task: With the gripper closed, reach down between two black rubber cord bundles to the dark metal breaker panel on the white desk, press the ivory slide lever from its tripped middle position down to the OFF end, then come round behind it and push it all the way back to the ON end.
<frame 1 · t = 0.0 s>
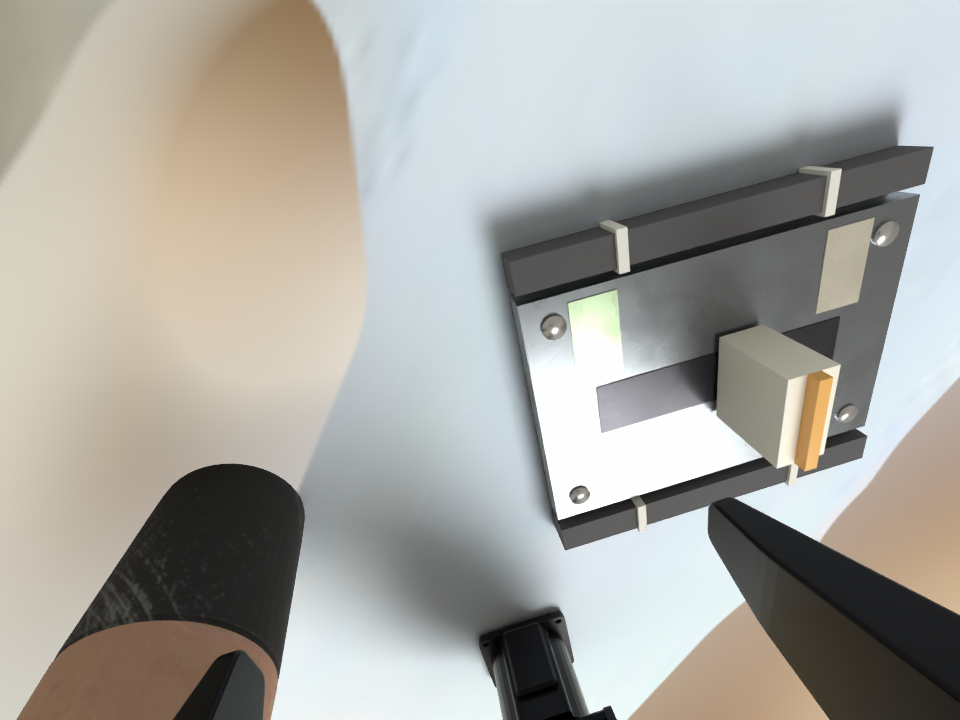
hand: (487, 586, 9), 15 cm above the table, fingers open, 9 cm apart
travel mug: (237, 512, 25), on the table
breaker panel: (701, 363, 26), on the table
cord bundle inner: (699, 473, 30), on the table
cord bundle outer: (704, 215, 22), on the table
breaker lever: (774, 396, 22), point 4 cm above the table, slide at 4.0 cm
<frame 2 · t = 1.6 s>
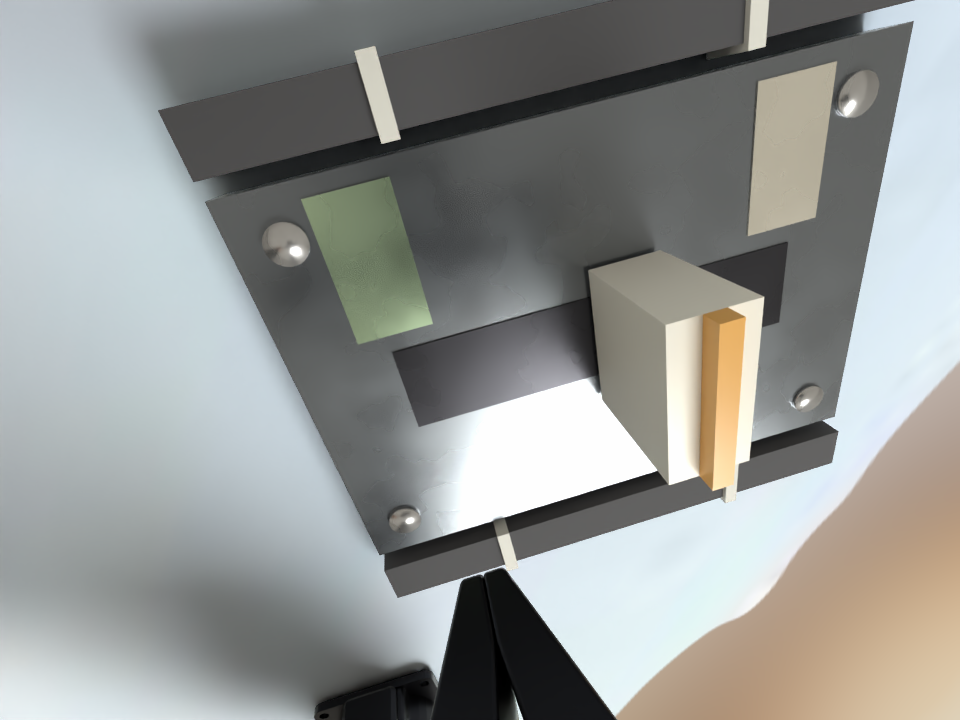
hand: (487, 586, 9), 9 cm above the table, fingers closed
breaker panel: (582, 319, 17), on the table
cord bundle inner: (602, 485, 21), on the table
cord bundle outer: (551, 58, 13), on the table
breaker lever: (669, 364, 13), point 4 cm above the table, slide at 4.0 cm
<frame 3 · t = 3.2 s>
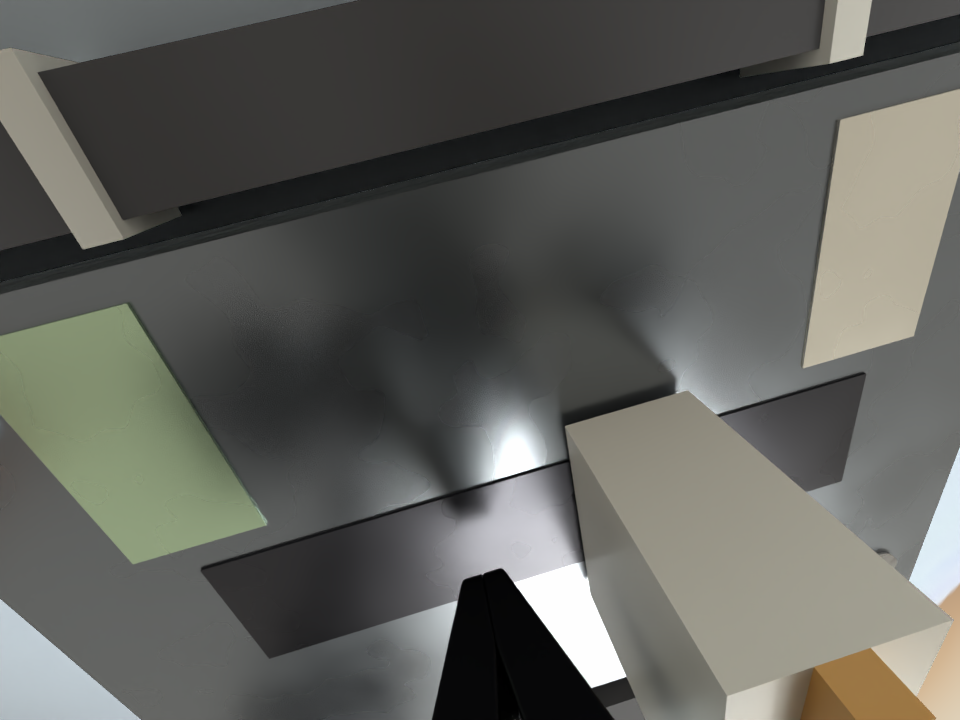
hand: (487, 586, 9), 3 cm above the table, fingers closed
breaker panel: (537, 472, 11), on the table
cord bundle inner: (575, 663, 15), on the table
cord bundle outer: (457, 73, 7), on the table
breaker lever: (709, 618, 7), point 4 cm above the table, slide at 3.4 cm, touching gripper
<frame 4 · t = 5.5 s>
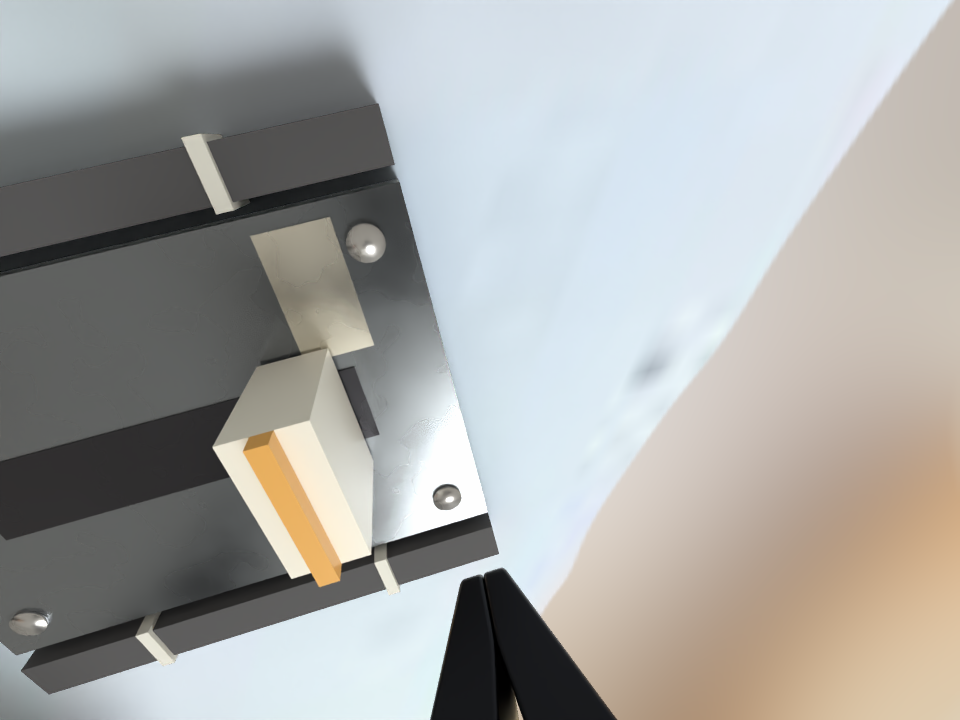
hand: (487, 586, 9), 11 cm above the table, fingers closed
breaker panel: (194, 429, 17), on the table
cord bundle inner: (282, 573, 21), on the table
cord bundle outer: (60, 209, 14), on the table
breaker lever: (309, 461, 14), point 4 cm above the table, slide at 0.0 cm
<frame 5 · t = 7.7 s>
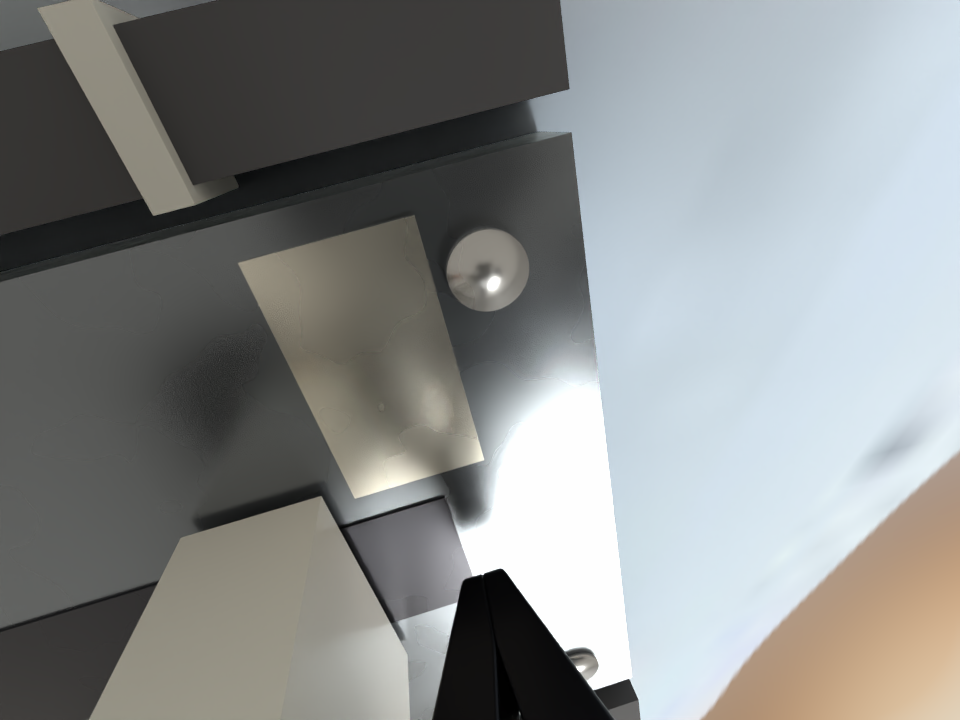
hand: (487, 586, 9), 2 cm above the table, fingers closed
breaker panel: (161, 584, 10), on the table
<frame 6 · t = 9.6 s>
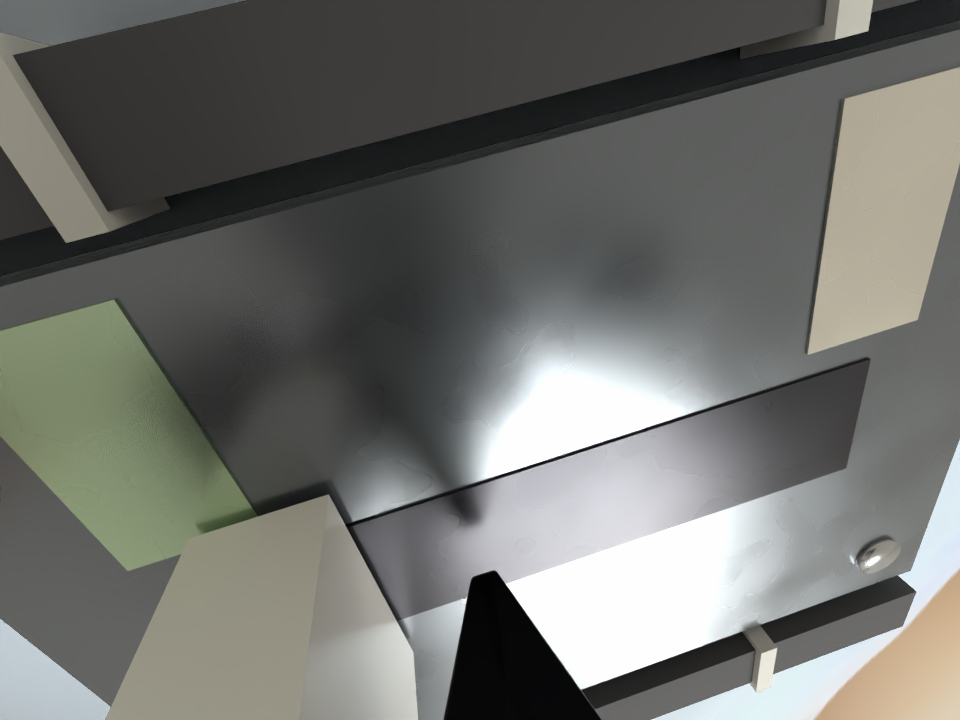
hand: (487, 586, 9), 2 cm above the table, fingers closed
breaker panel: (540, 466, 11), on the table
cord bundle inner: (580, 658, 15), on the table
cord bundle outer: (452, 57, 7), on the table
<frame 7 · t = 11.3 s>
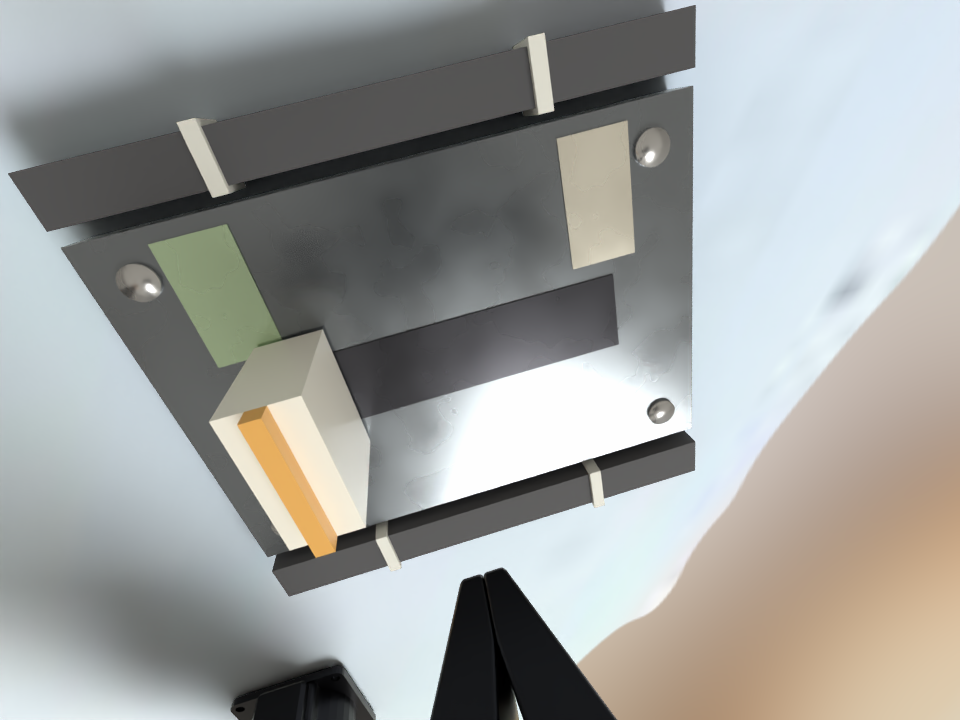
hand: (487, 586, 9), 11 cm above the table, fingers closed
breaker panel: (442, 342, 19), on the table
cord bundle inner: (486, 491, 23), on the table
cord bundle outer: (377, 118, 15), on the table
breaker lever: (305, 438, 15), point 4 cm above the table, slide at 10.0 cm
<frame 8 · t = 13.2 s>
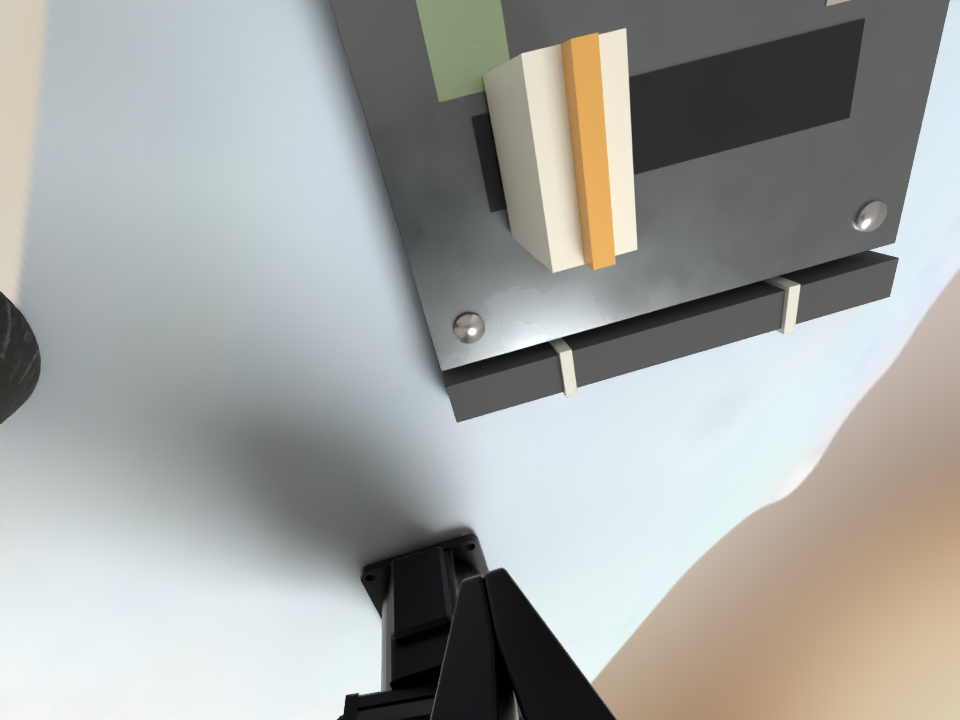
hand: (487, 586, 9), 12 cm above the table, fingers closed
breaker panel: (650, 118, 17), on the table
cord bundle inner: (657, 323, 21), on the table
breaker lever: (559, 158, 13), point 4 cm above the table, slide at 10.0 cm
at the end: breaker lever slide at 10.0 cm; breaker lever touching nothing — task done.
